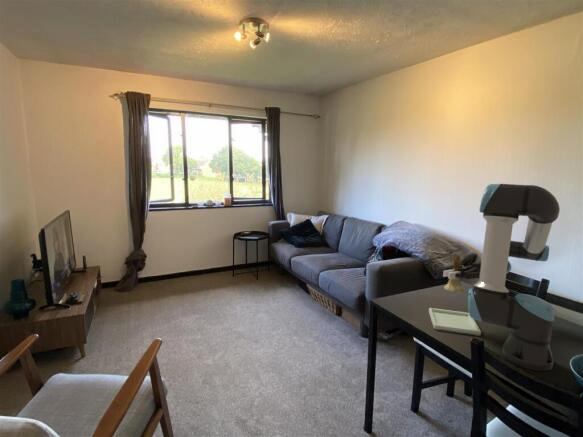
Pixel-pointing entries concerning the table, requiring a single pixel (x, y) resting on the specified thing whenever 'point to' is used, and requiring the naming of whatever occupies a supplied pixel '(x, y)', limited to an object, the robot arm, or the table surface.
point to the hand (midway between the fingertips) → (446, 274)
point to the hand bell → (455, 279)
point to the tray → (453, 321)
